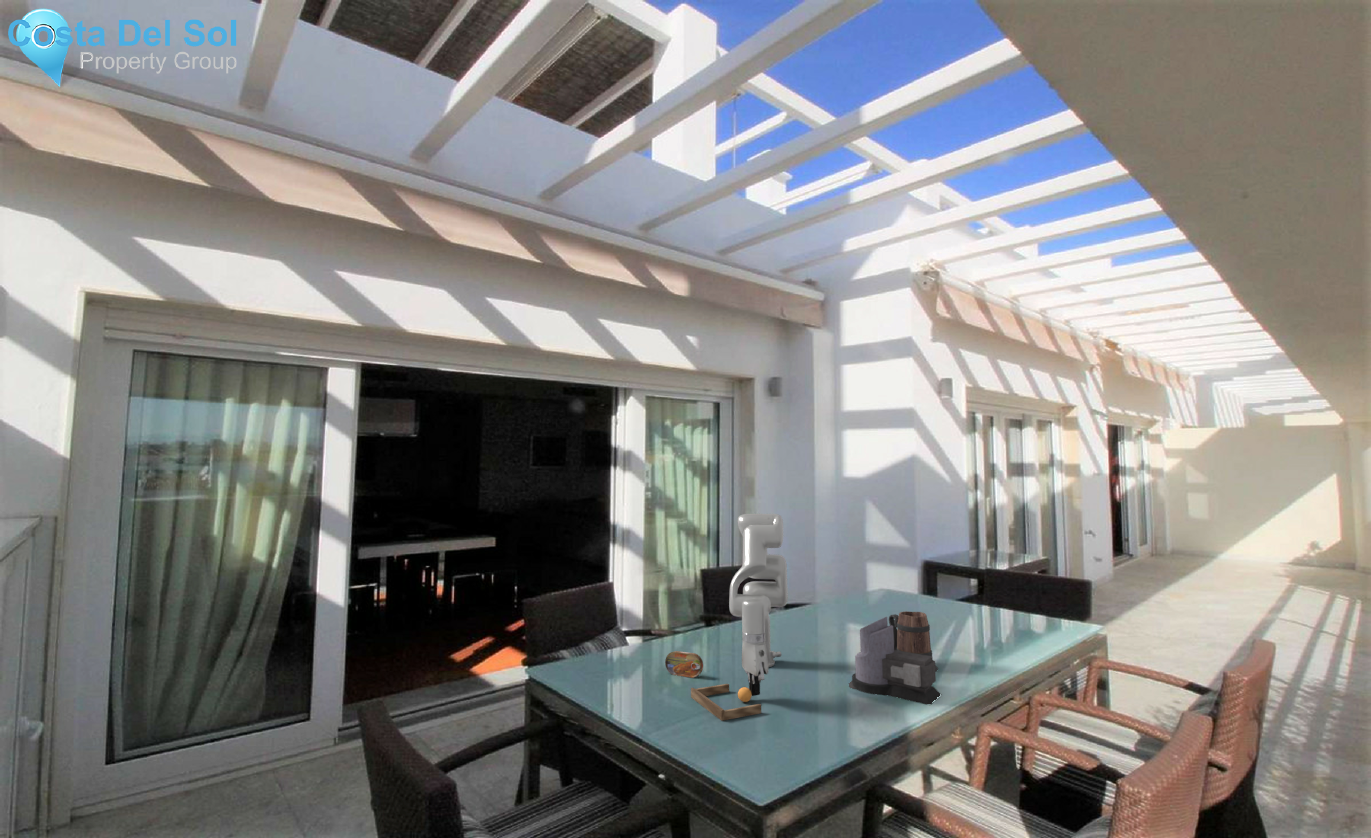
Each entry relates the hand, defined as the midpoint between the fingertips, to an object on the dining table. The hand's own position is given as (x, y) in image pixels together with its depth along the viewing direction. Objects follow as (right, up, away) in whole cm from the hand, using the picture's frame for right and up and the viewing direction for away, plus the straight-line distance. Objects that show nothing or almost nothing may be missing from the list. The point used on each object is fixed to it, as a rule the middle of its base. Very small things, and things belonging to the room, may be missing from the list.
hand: (754, 694), depth 205 cm
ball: (-3, +1, -2) cm, 4 cm away
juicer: (+48, -2, +8) cm, 49 cm away
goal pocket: (-10, -1, -5) cm, 11 cm away
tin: (-23, -5, +26) cm, 35 cm away
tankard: (+64, -5, +37) cm, 74 cm away
